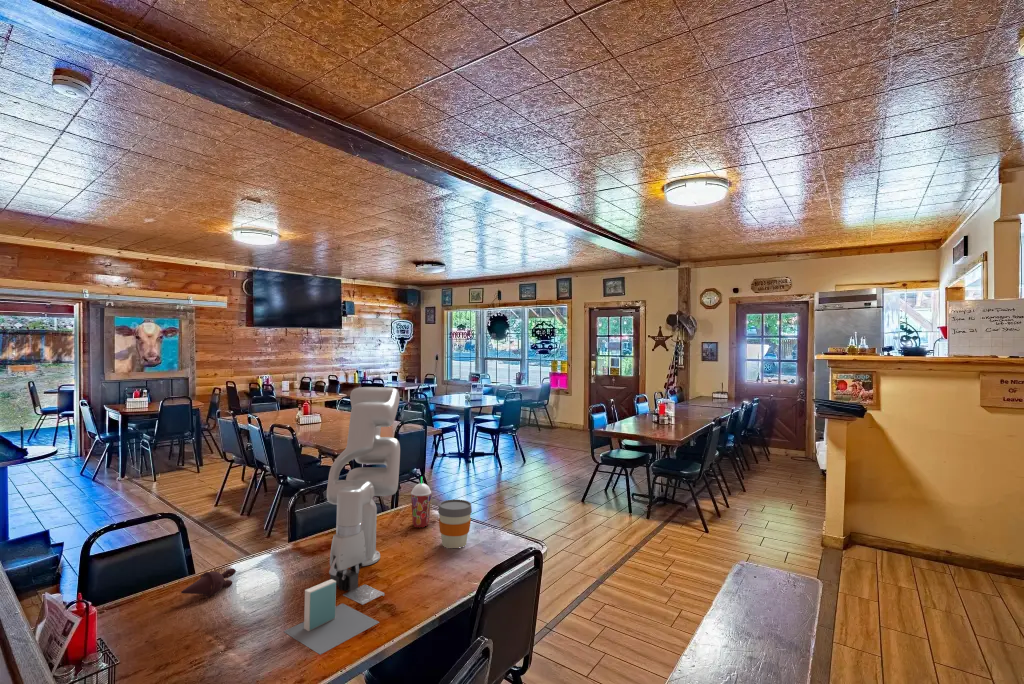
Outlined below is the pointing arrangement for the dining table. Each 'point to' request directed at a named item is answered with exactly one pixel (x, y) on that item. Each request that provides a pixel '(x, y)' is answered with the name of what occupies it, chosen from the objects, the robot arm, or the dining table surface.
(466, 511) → the reusable coffee cup
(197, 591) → the icecream
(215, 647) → the dining table surface
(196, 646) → the dining table surface
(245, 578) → the dining table surface
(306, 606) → the tile
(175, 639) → the dining table surface
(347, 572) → the trowel
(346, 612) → the mat
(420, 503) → the smoothie
